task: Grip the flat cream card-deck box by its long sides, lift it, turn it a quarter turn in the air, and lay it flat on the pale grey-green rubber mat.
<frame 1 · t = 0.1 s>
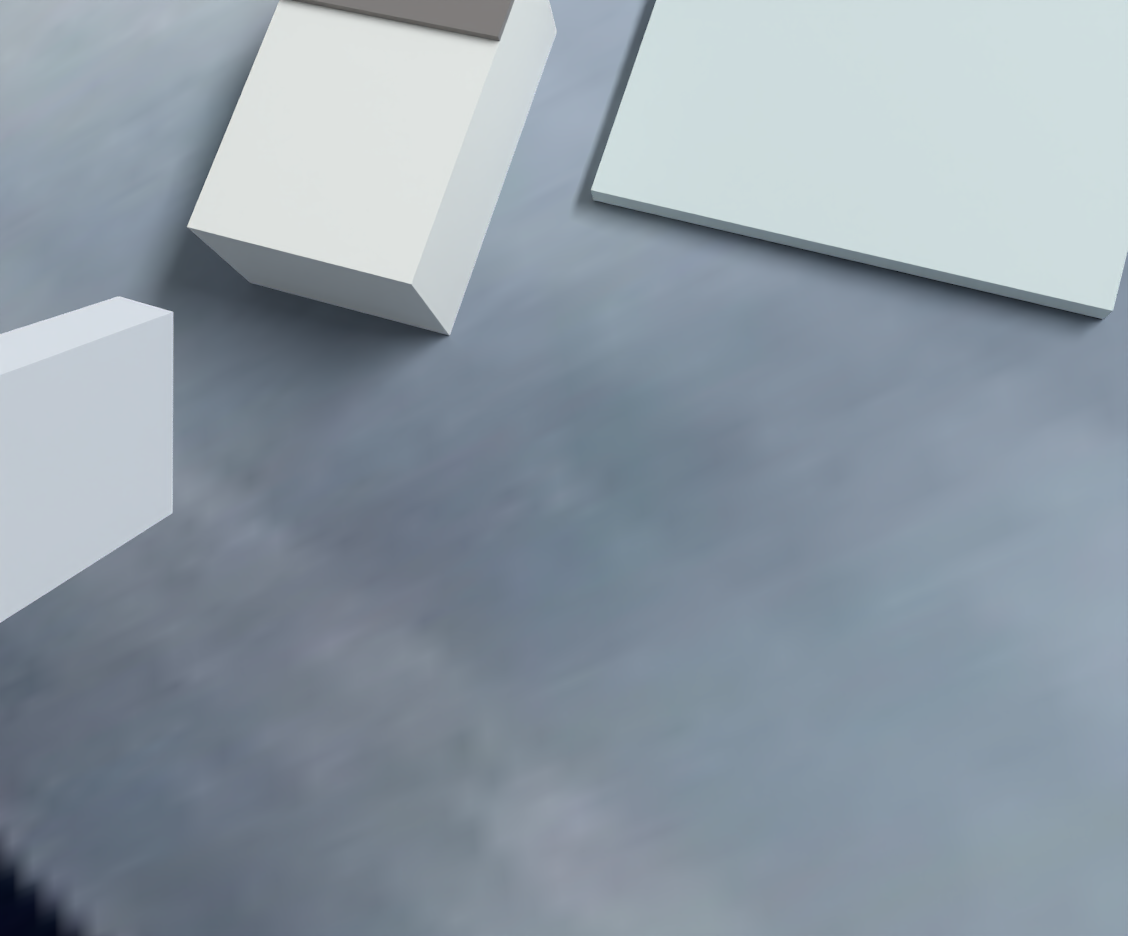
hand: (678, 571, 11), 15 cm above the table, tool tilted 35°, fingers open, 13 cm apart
mat: (901, 34, 29), on the table
card deck box: (407, 161, 31), on the table
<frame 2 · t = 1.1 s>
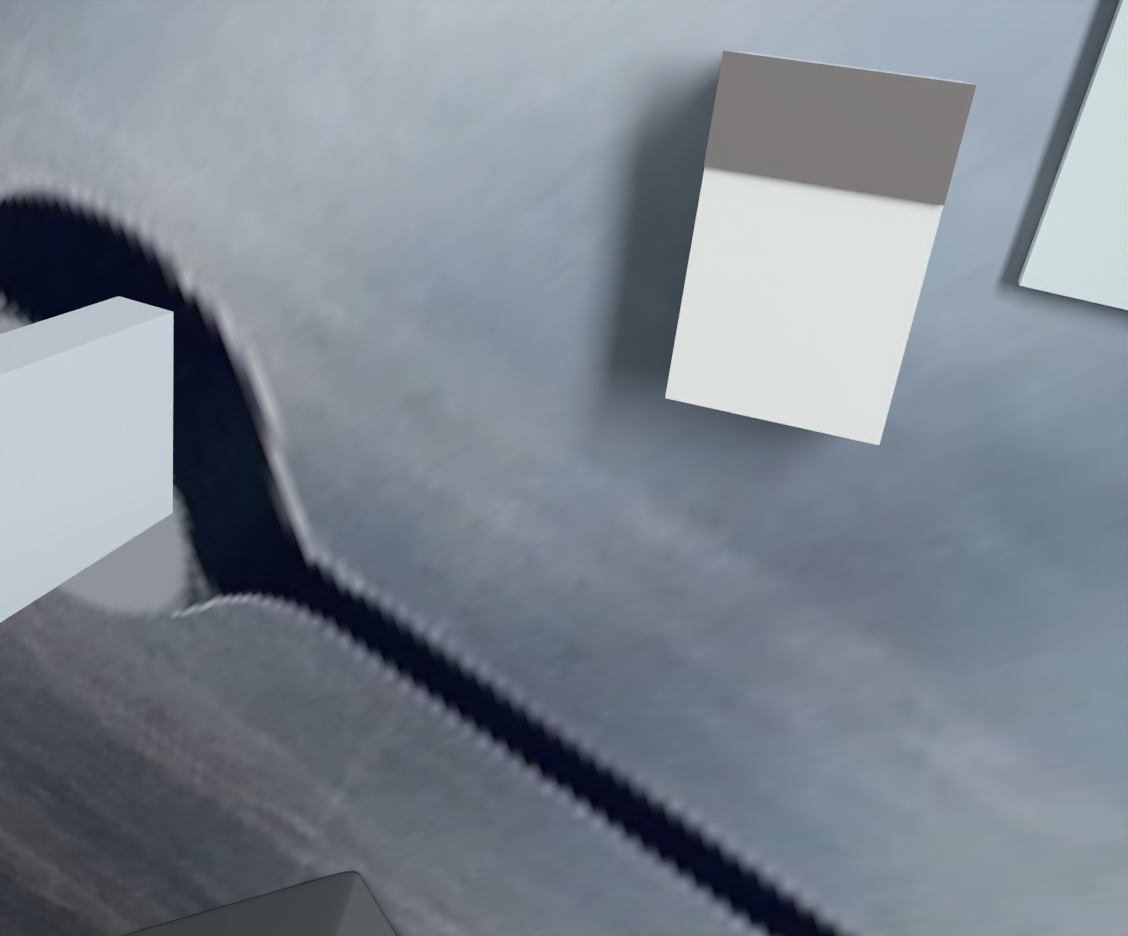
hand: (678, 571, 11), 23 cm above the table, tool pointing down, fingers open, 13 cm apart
card deck box: (817, 235, 32), on the table
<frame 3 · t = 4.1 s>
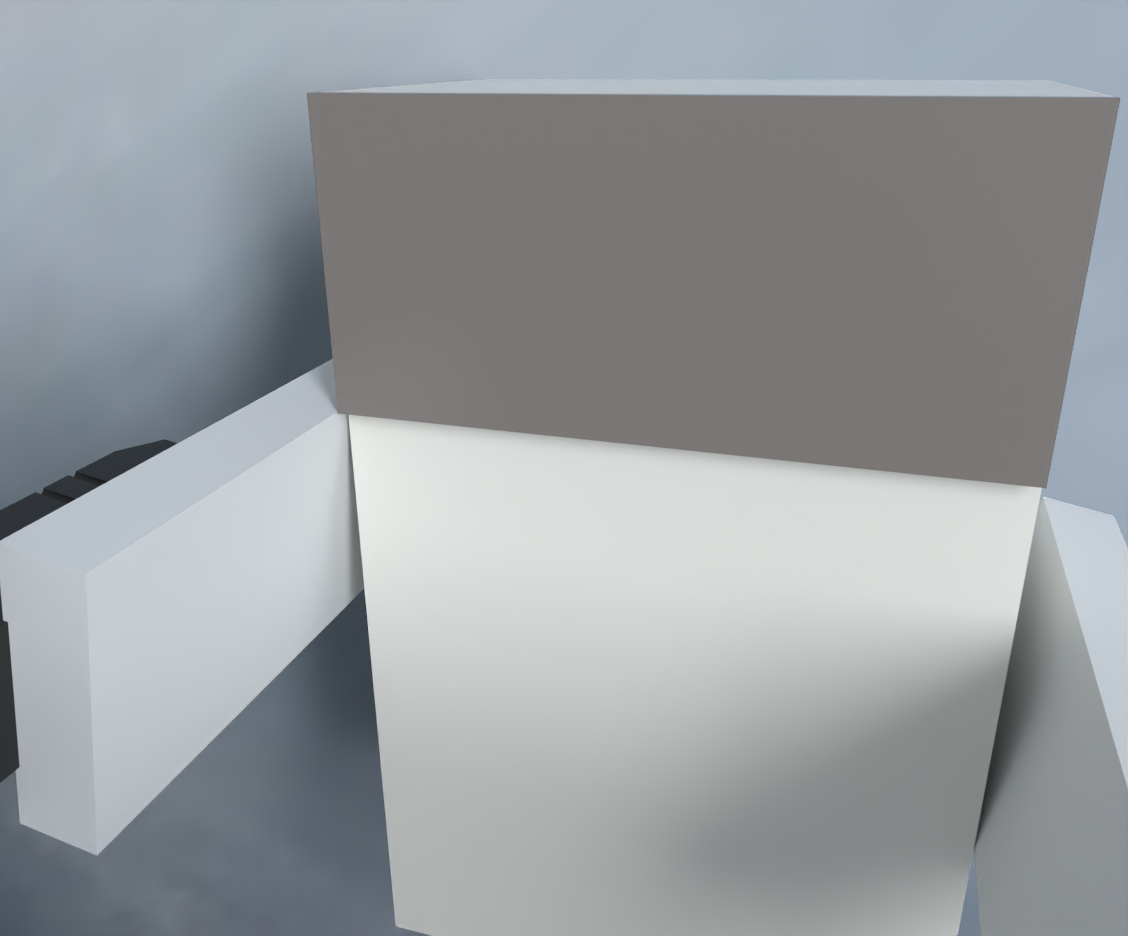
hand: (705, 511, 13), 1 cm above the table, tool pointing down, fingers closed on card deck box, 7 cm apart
card deck box: (721, 477, 14), on the table, touching gripper
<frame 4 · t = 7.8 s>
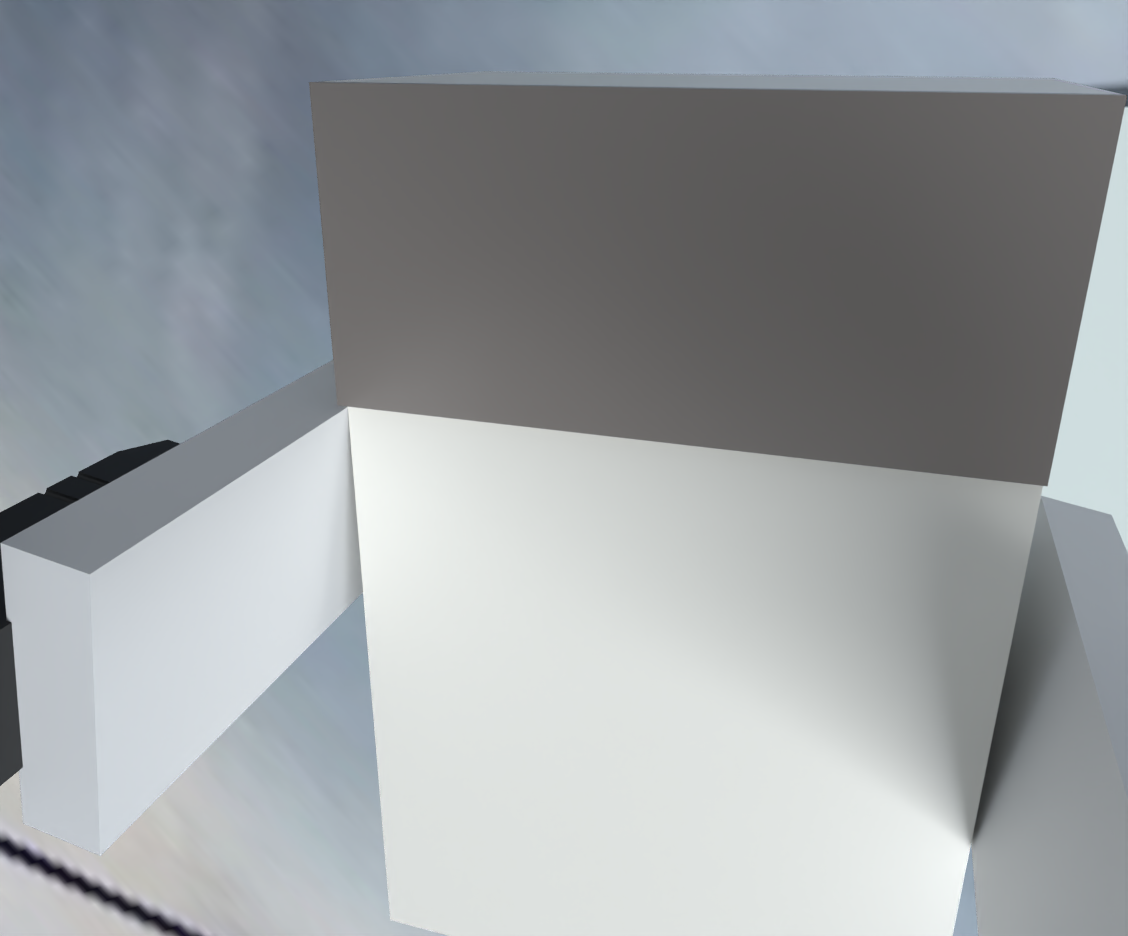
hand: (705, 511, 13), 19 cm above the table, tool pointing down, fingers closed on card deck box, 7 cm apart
mat: (890, 370, 30), on the table
card deck box: (720, 473, 14), point 18 cm above the table, touching gripper
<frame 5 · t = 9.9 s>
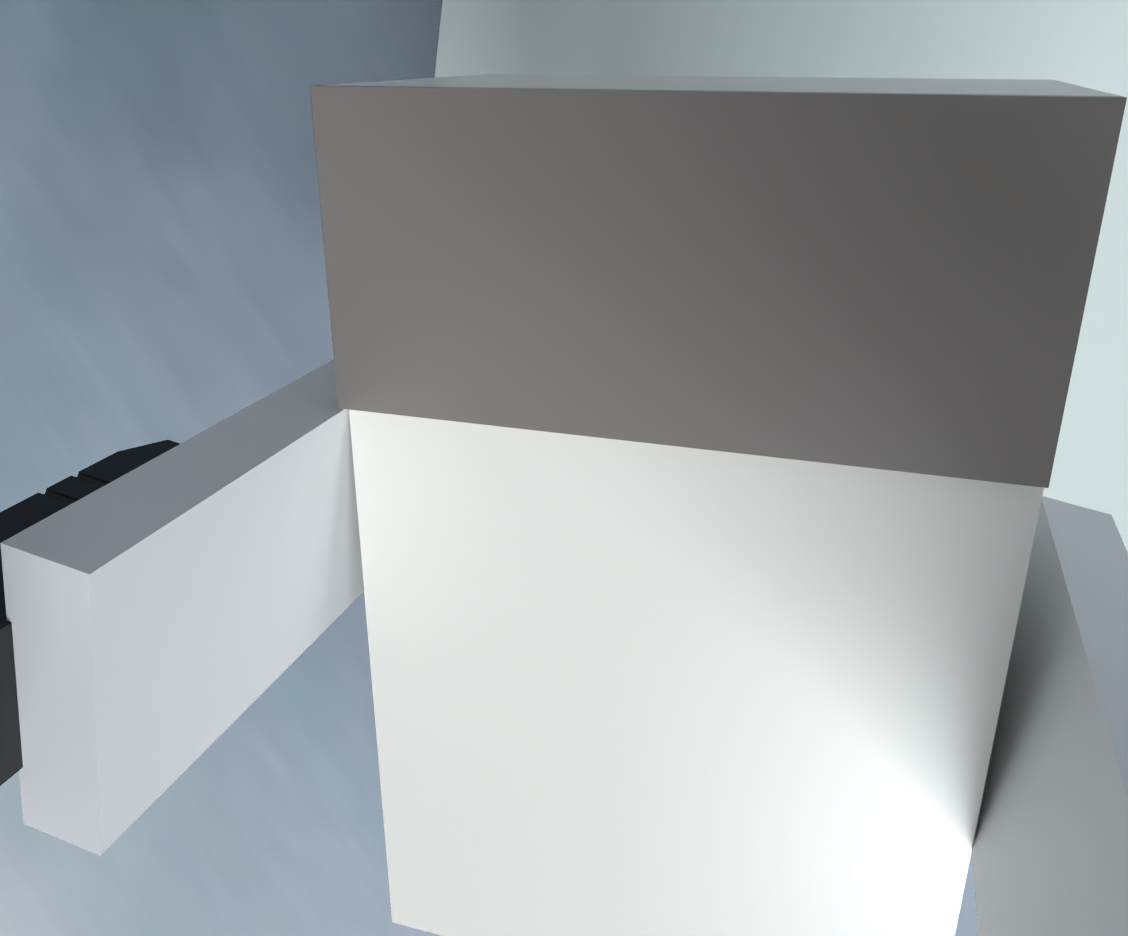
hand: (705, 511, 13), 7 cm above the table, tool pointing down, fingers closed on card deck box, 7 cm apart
mat: (772, 357, 19), on the table
card deck box: (721, 475, 14), point 6 cm above the table, touching gripper
when the fingers open (3 cm above the table, at t = 11.8 s): card deck box drops 1 cm, resting on mat.
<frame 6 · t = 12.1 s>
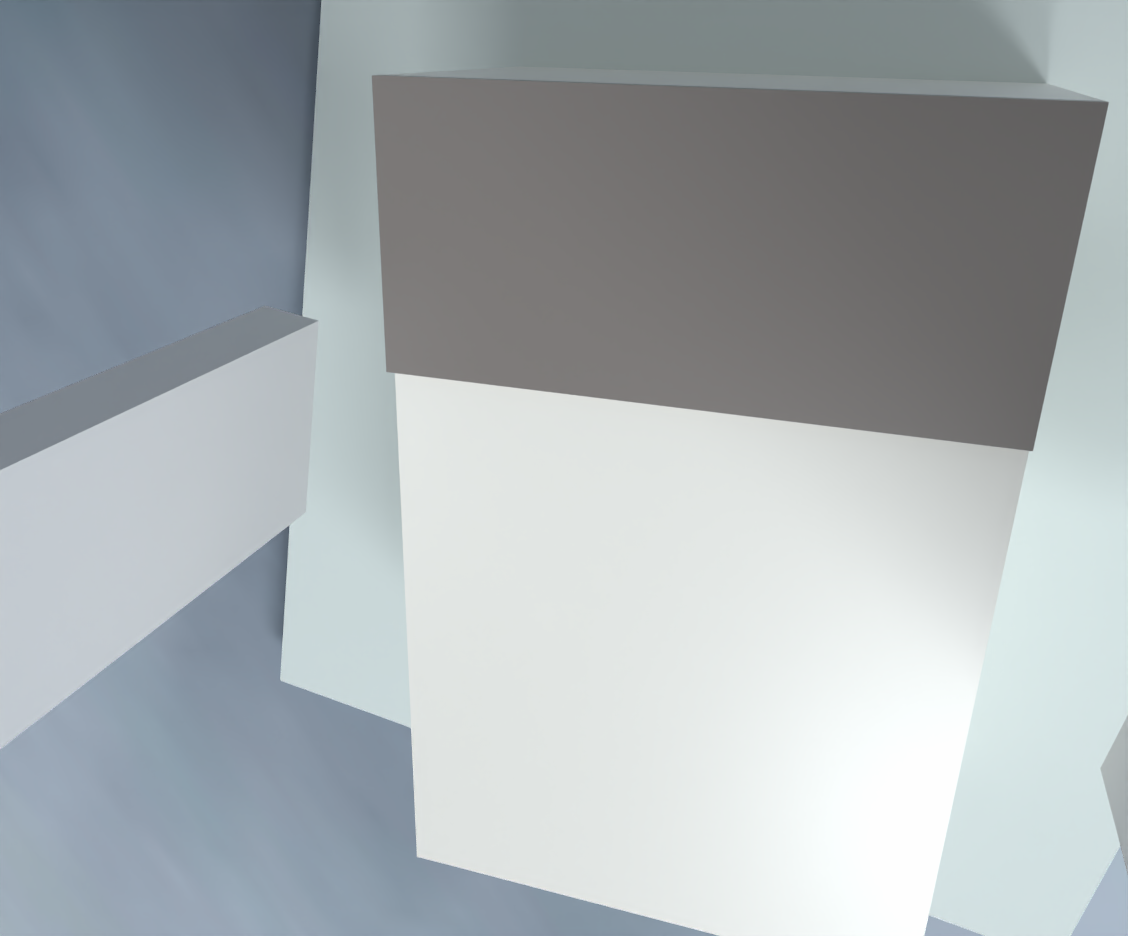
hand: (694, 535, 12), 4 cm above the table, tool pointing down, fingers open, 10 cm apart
mat: (739, 433, 15), on the table
card deck box: (730, 446, 15), point 1 cm above the table, touching mat
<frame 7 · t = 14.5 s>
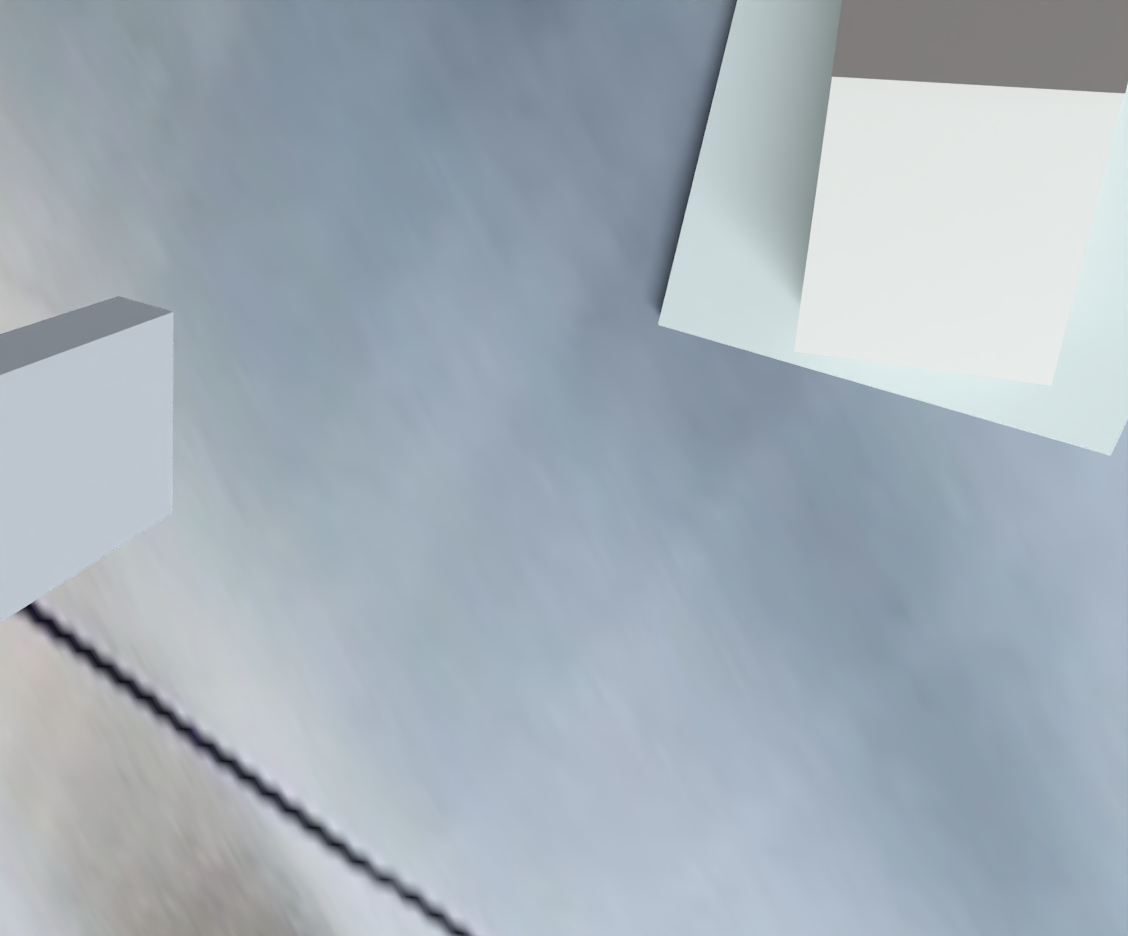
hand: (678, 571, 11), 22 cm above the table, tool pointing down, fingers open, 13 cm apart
mat: (954, 154, 29), on the table
card deck box: (952, 156, 28), point 1 cm above the table, touching mat
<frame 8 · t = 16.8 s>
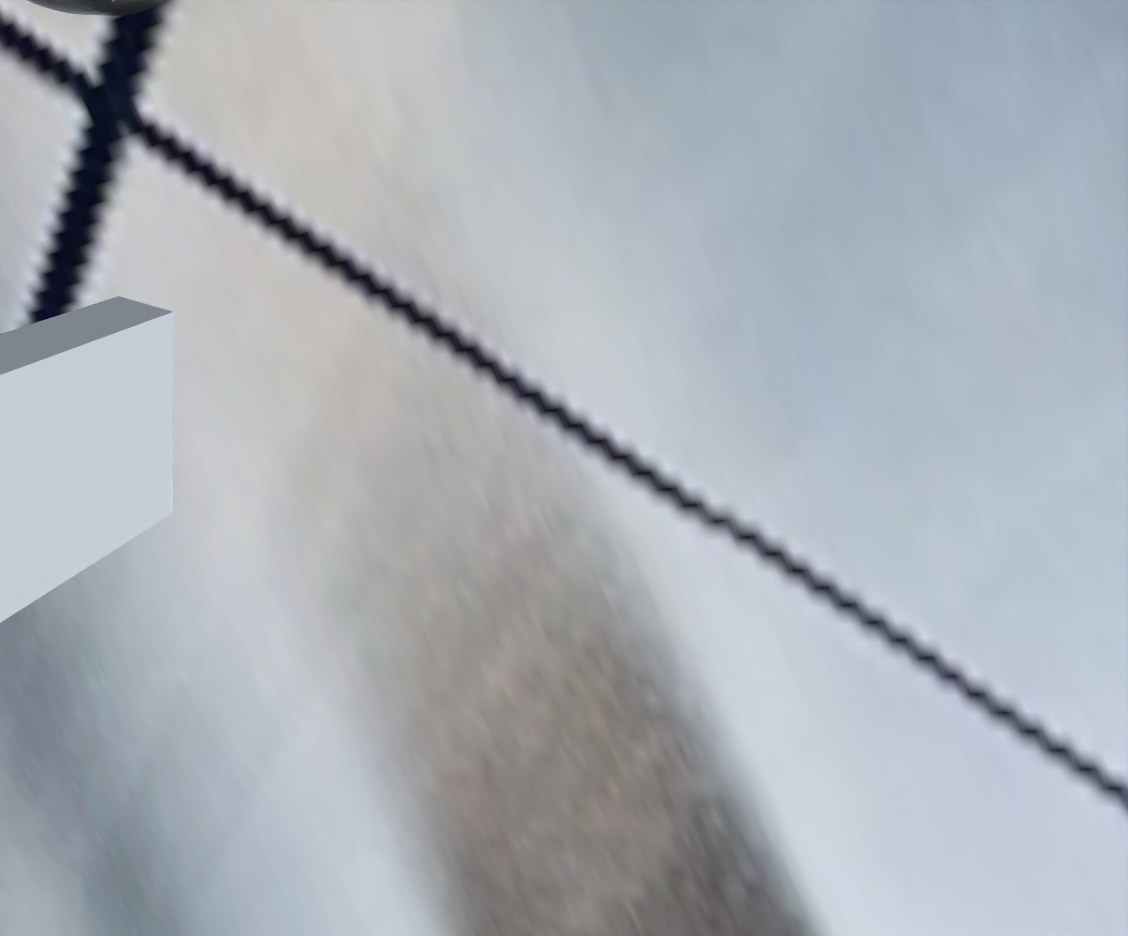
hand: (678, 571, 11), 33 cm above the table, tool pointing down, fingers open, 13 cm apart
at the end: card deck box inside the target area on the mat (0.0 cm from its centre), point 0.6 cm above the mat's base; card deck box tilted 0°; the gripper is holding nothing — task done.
